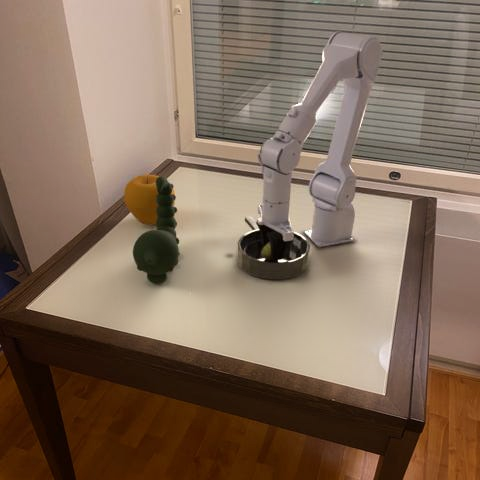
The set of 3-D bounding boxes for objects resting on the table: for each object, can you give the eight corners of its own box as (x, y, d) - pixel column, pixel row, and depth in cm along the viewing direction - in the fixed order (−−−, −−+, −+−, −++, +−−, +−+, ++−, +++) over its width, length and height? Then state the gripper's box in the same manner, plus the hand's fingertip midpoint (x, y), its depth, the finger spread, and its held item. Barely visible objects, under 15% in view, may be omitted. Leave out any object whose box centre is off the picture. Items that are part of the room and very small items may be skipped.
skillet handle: (251, 219, 124) (251, 216, 123) (263, 233, 118) (264, 230, 117) (244, 220, 123) (244, 217, 123) (256, 235, 117) (257, 231, 117)
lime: (259, 262, 113) (260, 243, 110) (266, 252, 116) (267, 233, 113) (278, 266, 112) (279, 246, 109) (284, 256, 115) (285, 237, 112)
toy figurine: (150, 246, 122) (129, 297, 101) (143, 169, 112) (117, 207, 91) (189, 247, 122) (175, 298, 101) (185, 170, 112) (169, 208, 91)
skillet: (289, 240, 122) (290, 223, 120) (320, 273, 111) (322, 255, 108) (227, 251, 118) (227, 234, 115) (253, 287, 106) (254, 269, 103)
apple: (133, 235, 123) (128, 192, 116) (121, 214, 133) (115, 172, 126) (183, 226, 128) (180, 183, 121) (168, 206, 137) (165, 165, 130)
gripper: (245, 187, 109) (244, 243, 117) (272, 215, 98) (269, 274, 106) (275, 183, 111) (272, 238, 119) (305, 210, 100) (299, 268, 108)
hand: (272, 254), depth 113 cm, fingers closed on lime, 4 cm apart
